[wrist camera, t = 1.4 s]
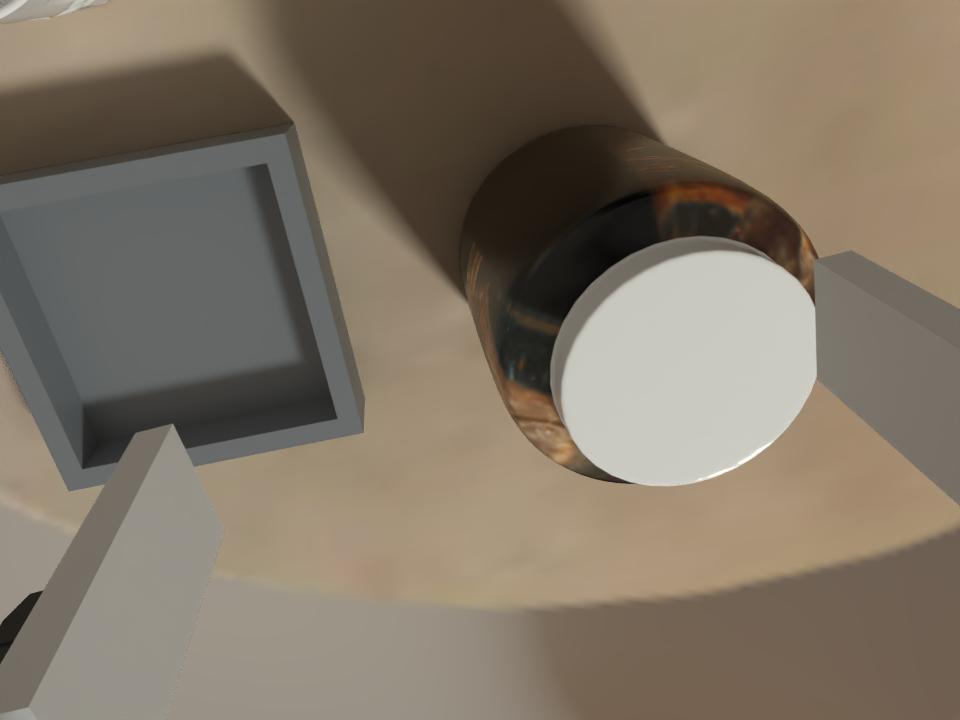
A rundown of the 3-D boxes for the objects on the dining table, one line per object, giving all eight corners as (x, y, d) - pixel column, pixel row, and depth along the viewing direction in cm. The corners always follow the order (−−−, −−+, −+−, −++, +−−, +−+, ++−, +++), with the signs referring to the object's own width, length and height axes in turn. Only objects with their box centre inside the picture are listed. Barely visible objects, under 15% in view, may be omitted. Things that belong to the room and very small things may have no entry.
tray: (-28, 180, 32) (-72, 197, 29) (294, 122, 33) (285, 133, 30) (94, 452, 38) (68, 491, 35) (364, 399, 39) (363, 432, 36)
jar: (521, 78, 33) (618, 119, 20) (736, 178, 36) (947, 272, 23) (423, 310, 37) (448, 477, 24) (624, 383, 40) (748, 566, 27)
